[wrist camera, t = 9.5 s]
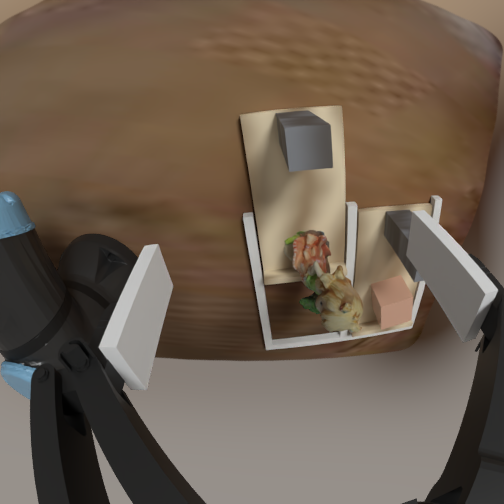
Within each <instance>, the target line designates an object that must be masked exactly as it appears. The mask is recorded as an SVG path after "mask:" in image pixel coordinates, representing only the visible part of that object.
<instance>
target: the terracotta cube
mask: <svg viewBox="0 0 504 504" xmlns="http://www.w3.org/2000/svg"><path fill="white" fill-rule="evenodd" d="M371 295H372V308H373V310H374V313H375V315H376V318H377V320H378V323H379V325H380V328H381V330H382V329H386V328H389V327H392V326H395V325H399V324H402V323H405V322H408V321H411V319H412V308H413V295H412V294H411V292H410V290H409V288H408V287H407V285H406V283H405V281H404V279H403V278H402V276H401V275H399V276H396V277H393V278H389V279H386V280H383V281H379V282H376V283H372V284H371Z"/></svg>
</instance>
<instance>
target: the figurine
mask: <svg viewBox="0 0 504 504" xmlns="http://www.w3.org/2000/svg"><path fill="white" fill-rule="evenodd" d="M284 242H285V246H284V248H283V251H284V253H285V255H286V256H287V257H288V258H289V259H290V260H291V261H292V264H293V267H294V269H296V270H297V271H298V272H299V273H300V276H301V277H300V278H301V279H302V282H303V283H304V285H305V286H306V287H307V288H309V289H310V290H313V291H314V293H313V294H312V295H311V296H309V297H305V298H302V299H301V300H300V301H299V303H300V304H301V305H303V308H305V309H309V310H310V311H312V312H314V313H316V314H319V313H320V314H321V317H322V325H323V326H324V327H325V328H326V329H327V330H328V331H330V332H332V331H345V330H348V331H349V332H350V333H351V332H356V333H357V332H359V331H360V330H361V329H362V327H360V326H359V325H358V321H359V320H360V318H361V316H362V313H363V303H362V300H361V298H360V296H359V294H358V293H357V291H356V290H355V289H354V288H353V287H352V284H351V280H350V279H348V278H347V277H345V276H344V274H343V267H342V266H341V265H339V266H337V269H336V270H335V272H334V273H333V274H330V265H329V262H328V256H331V252H330V249H329V241H327V238H326V236H325V235H324V232H322V231H315V230H308V231H299V232H297V233H296V235H294V236H293V237H290V238H288V239H286V240H285V241H284Z"/></svg>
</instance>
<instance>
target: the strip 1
mask: <svg viewBox="0 0 504 504" xmlns="http://www.w3.org/2000/svg"><path fill="white" fill-rule="evenodd" d="M240 119H241V126H242V132H243V138H244V145H245V151H246V158H247V164H248V170H249V177H250V183H251V190H252V197H253V203H254V210H255V216H256V223H257V230H258V236H259V243H260V250H261V256H262V263H263V270H264V284H265V285H270V284H279V283H288V282H297V281H302V279H301V278H300V277H301V276H300V273H299V272H298V271H297V270H296V269H294V267H293V264H292V261H291V260H290V259H289V258H288V257H287V256H286V255H285V253H284V251H283V248H284V246H285V242H284V241H285V240H286V239H288V238H290V237H293V236H294V235H296V233H297V232H299V231H308V230H315V231H322V232H324V235H325V236H326V238H327V241H329V249H330V252H331V256H328V262H329V265H330V274H333V273H334V272H335V270H336V269H337V266H339V265H341V266H342V267H343V274H344V276H346V275H347V272H348V270H347V268H346V265H345V263H344V250H345V152H344V131H343V115H342V106H319V107H303V108H291V109H280V110H270V111H262V112H254V113H246V114H240Z"/></svg>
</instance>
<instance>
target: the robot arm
mask: <svg viewBox="0 0 504 504" xmlns="http://www.w3.org/2000/svg"><path fill="white" fill-rule="evenodd" d="M406 256H407V257H408V258H409V260H410V261H411V263H412V264H413V265H414V267H415V268H416V270H417V271H418V273H419V274H420V275H421V277H422V278H423V280H424V281H425V283H426V284H427V286H428V287H429V289H430V290H431V292H432V293H433V295H434V296H435V298H436V299H437V301H438V302H439V304H440V306H441V307H442V309H443V310H444V312H445V314H446V315H447V317H448V318H449V320H450V322H451V323H452V325H453V327H454V328H455V330H456V332H457V333H458V335H459V337H460V338H461V340H462V342H463V343H464V342H467V341H469V340H472V339H475V338H476V336H477V334H478V332H479V330H480V328H481V330H482V331H483V333H484V335H483V337H482V339H481V340H480V342H479V344H478V346H477V348H476V350H475V351H476V352H477V351H478V349H479V348H480V350H479V356H478V361H477V366H476V371H475V376H474V380H473V385H472V389H471V392H470V396H469V400H468V404H467V407H466V411H465V414H464V417H463V421H462V424H461V427H460V430H459V433H458V436H457V439H456V441H455V444H454V447H453V449H452V452H451V455H450V457H449V460H448V462H447V464H446V467H445V469H444V471H443V473H442V475H441V477H440V479H439V480H438V482H437V483H436V484H435V485H434V486H433V488H432V489H431V491H430V492H429V494H428V496H427V498H426V500H425V501H424V502H417V499H414V500H411V501H408V502H405V503H402V504H504V288H503V287H502V285H501V284H500V283H499V282H498V281H497V279H496V278H495V277H494V276H493V275H492V273H490V271H489V270H488V269H487V268H485V266H484V264H483V263H482V262H481V261H480V260H479V259H478V258H476V257H475V256H473V255H472V254H467V253H466V252H465V251H464V250H463V248H462V247H461V246H460V245H459V244H458V243H457V242H456V241H455V240H454V239H453V238H452V237H451V236H450V235H449V234H448V233H447V232H446V231H445V230H444V229H443V228H442V227H441V226H440V225H439V224H438V223H437V222H436V221H435V220H434V219H433V218H432V217H431V216H430V215H429V214H428V213H427V212H426V211H425V210H420V211H412V219H411V227H410V234H409V241H408V247H407V253H406ZM172 289H173V284H172V281H171V279H170V276H169V273H168V271H167V268H166V265H165V262H164V260H163V257H162V254H161V251H160V248H159V245H158V244H154V245H147V246H144V248H143V250H142V252H141V254H140V256H139V258H137V256H136V255H135V254H134V253H133V252H132V251H131V250H130V249H129V248H127V247H126V246H125V245H123V244H122V243H120V242H119V241H117V240H115V239H113V238H110V237H108V236H105V235H100V234H85V235H82V236H79V237H77V238H76V239H74V240H73V241H72V242H71V243H70V244H69V245H68V247H67V248H66V249H65V250H64V252H63V254H62V256H61V258H60V262H59V267H58V270H57V271H56V269H55V267H54V265H53V263H52V262H51V260H50V258H49V256H48V254H47V252H46V250H45V248H44V246H43V244H42V242H41V240H40V238H39V236H38V234H37V232H36V230H35V224H34V222H32V221H31V220H30V218H29V216H28V214H27V212H26V210H25V208H24V206H23V204H22V202H21V200H20V198H19V197H18V196H17V195H16V194H15V193H13V192H9V191H6V192H1V193H0V353H1V354H2V355H3V357H4V358H5V361H4V362H3V363H2V364H1V366H2V367H1V375H2V377H3V379H4V380H5V381H6V382H7V383H8V384H9V385H10V386H11V387H12V388H13V389H15V390H16V391H17V392H19V393H20V394H22V395H23V396H25V397H26V398H28V399H30V427H31V447H32V459H33V469H34V477H35V484H36V490H37V496H38V502H39V504H110V502H109V499H108V496H107V493H106V489H105V486H104V482H103V479H102V475H101V471H100V467H99V463H98V459H97V455H96V450H95V445H94V440H93V435H92V430H93V433H94V434H95V437H96V439H97V441H98V443H99V445H100V447H101V449H102V451H103V453H104V455H105V457H106V459H107V460H108V462H109V464H110V466H111V468H112V469H113V472H114V473H115V475H116V477H117V478H118V480H119V482H120V483H121V485H122V487H123V488H124V490H125V492H126V493H127V495H128V497H129V498H130V500H131V501H132V503H133V504H206V503H205V502H204V501H203V500H202V498H201V497H200V496H199V495H198V494H197V493H196V492H195V490H194V489H193V488H192V487H191V486H190V485H189V483H188V482H187V481H186V480H185V479H184V477H183V476H182V475H181V474H180V472H179V471H178V470H177V469H176V467H175V466H174V465H173V463H172V462H171V461H170V459H169V458H168V457H167V455H166V454H165V453H164V451H163V450H162V449H161V447H160V446H159V444H158V443H157V442H156V440H155V439H154V437H153V436H152V434H151V433H150V431H149V430H148V428H147V427H146V425H145V424H144V422H143V421H142V419H141V418H140V416H139V415H138V413H137V412H136V410H135V408H134V407H133V405H132V403H131V402H130V400H129V398H128V397H127V395H126V393H125V392H124V391H123V390H122V389H123V386H124V382H125V383H126V384H127V386H128V387H129V388H130V389H131V390H147V388H148V383H149V379H150V374H151V370H152V366H153V362H154V358H155V353H156V349H157V345H158V341H159V337H160V333H161V330H162V326H163V322H164V318H165V314H166V311H167V307H168V303H169V300H170V296H171V293H172ZM91 428H92V430H91Z"/></svg>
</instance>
